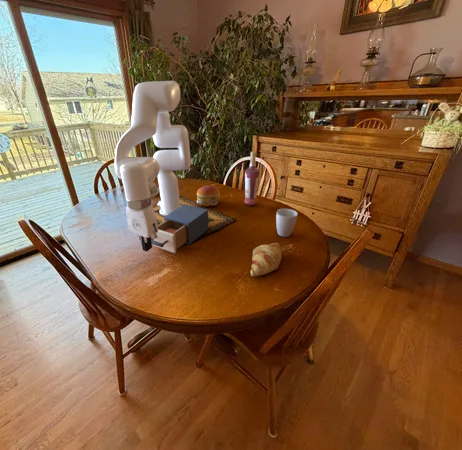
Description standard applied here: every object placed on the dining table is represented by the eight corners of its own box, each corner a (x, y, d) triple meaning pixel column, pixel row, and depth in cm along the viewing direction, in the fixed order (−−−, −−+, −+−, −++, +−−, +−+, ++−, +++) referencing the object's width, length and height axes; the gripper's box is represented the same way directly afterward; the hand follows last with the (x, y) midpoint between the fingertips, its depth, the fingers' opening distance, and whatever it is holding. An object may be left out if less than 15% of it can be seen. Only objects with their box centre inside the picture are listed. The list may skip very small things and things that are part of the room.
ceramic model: (149, 199, 142) (146, 183, 137) (134, 197, 146) (131, 181, 141) (162, 191, 153) (160, 176, 148) (148, 189, 157) (146, 175, 152)
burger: (202, 210, 125) (201, 192, 120) (193, 201, 136) (191, 185, 132) (224, 205, 130) (224, 188, 125) (213, 197, 141) (213, 181, 136)
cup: (294, 230, 103) (297, 209, 98) (293, 240, 96) (297, 218, 92) (274, 228, 106) (277, 207, 101) (273, 237, 99) (275, 215, 94)
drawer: (167, 259, 87) (164, 241, 83) (145, 250, 92) (141, 233, 89) (194, 237, 100) (193, 220, 96) (173, 230, 105) (171, 215, 102)
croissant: (259, 290, 77) (272, 278, 71) (236, 269, 79) (246, 256, 74) (283, 257, 91) (295, 244, 86) (262, 240, 94) (273, 227, 88)
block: (163, 241, 95) (162, 232, 93) (170, 237, 99) (169, 227, 96) (171, 244, 93) (170, 235, 91) (178, 239, 96) (177, 230, 94)
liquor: (258, 206, 127) (262, 153, 113) (244, 207, 127) (246, 153, 114) (255, 201, 133) (259, 150, 120) (242, 201, 133) (244, 150, 120)
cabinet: (190, 244, 97) (188, 223, 92) (166, 236, 103) (163, 216, 98) (208, 228, 107) (208, 209, 103) (186, 222, 114) (184, 204, 109)
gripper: (114, 201, 77) (125, 248, 86) (147, 210, 70) (155, 260, 79) (132, 194, 83) (140, 239, 91) (164, 202, 75) (170, 249, 84)
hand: (147, 249), depth 85 cm, fingers closed
